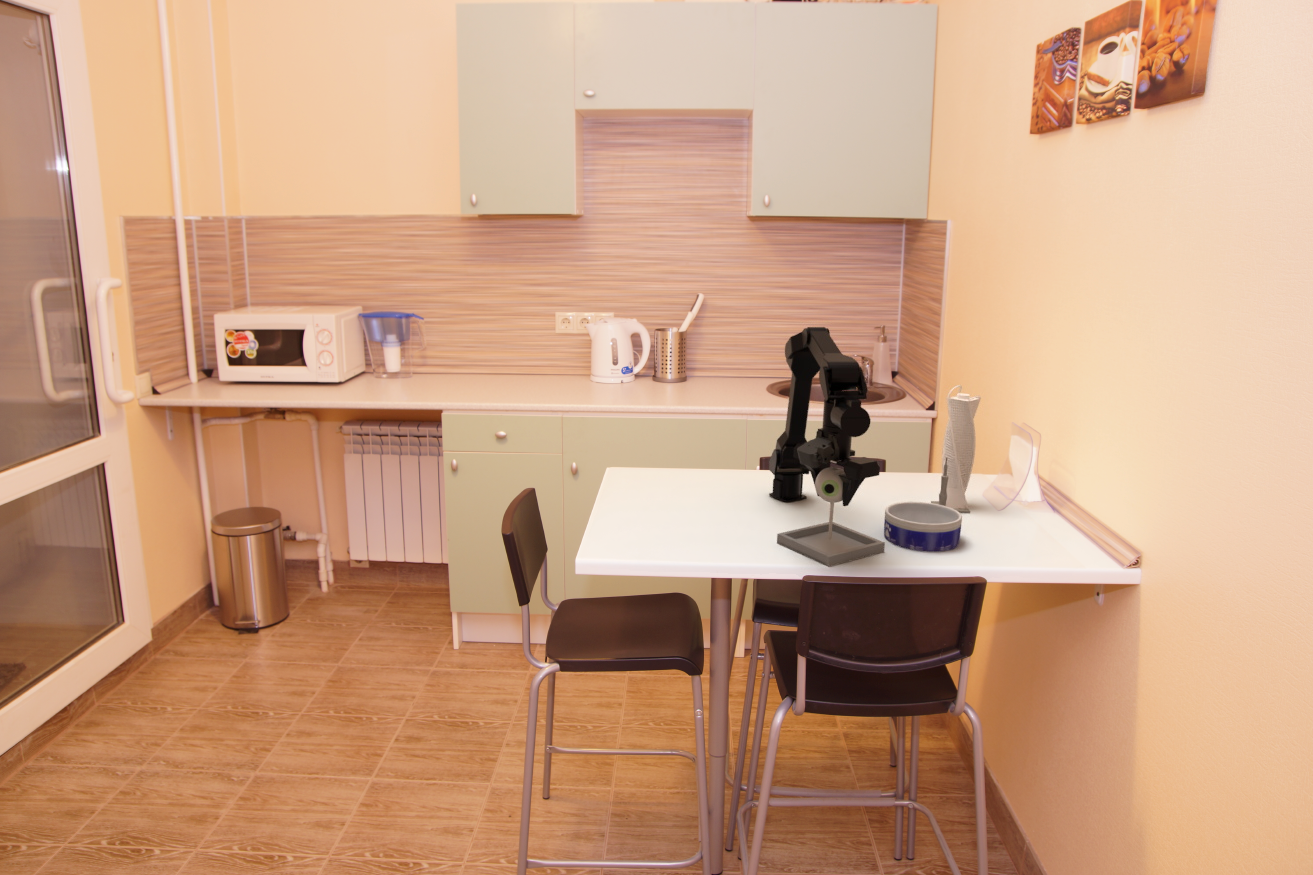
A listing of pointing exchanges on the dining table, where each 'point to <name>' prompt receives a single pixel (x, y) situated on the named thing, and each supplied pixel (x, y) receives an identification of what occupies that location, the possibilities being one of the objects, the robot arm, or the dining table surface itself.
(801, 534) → the tray
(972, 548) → the dining table surface
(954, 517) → the dog bowl
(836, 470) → the lollipop
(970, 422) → the skyscraper
